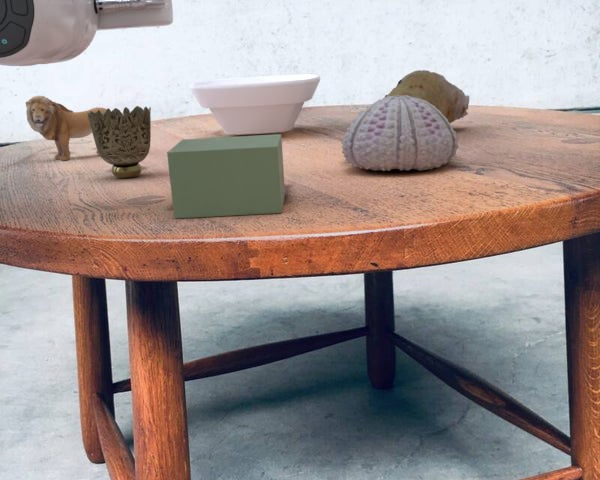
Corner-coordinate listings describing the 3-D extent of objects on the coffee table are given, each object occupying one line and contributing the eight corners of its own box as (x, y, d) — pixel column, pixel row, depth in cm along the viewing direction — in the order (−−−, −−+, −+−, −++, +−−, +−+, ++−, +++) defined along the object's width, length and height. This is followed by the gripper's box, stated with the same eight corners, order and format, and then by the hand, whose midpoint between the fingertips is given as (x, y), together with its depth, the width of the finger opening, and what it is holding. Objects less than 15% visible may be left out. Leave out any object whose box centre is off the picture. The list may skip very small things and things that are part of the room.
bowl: (186, 146, 137) (180, 87, 134) (204, 131, 156) (199, 79, 153) (321, 139, 136) (318, 79, 133) (323, 125, 155) (321, 72, 152)
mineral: (407, 82, 114) (337, 97, 119) (421, 154, 117) (352, 166, 122) (465, 56, 135) (404, 69, 140) (475, 118, 139) (414, 129, 143)
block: (174, 218, 83) (166, 152, 81) (188, 199, 93) (182, 139, 90) (281, 213, 83) (277, 146, 81) (285, 194, 92) (281, 134, 90)
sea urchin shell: (358, 160, 113) (355, 92, 110) (466, 158, 108) (467, 88, 105) (328, 177, 101) (325, 102, 98) (449, 176, 97) (449, 98, 94)
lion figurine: (37, 164, 127) (26, 97, 123) (30, 161, 131) (19, 96, 128) (138, 153, 132) (130, 89, 129) (128, 150, 137) (120, 88, 133)
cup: (92, 176, 113) (83, 109, 110) (150, 170, 115) (142, 104, 112) (102, 183, 106) (92, 113, 103) (163, 177, 108) (155, 107, 105)
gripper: (157, -39, 78) (179, -29, 91) (-75, -22, 79) (-20, -14, 91) (166, 40, 80) (186, 39, 93) (-59, 55, 81) (-8, 52, 94)
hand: (82, 13), depth 92 cm, fingers open, 8 cm apart
